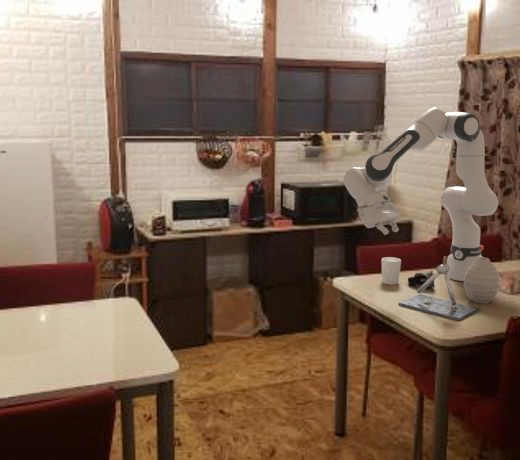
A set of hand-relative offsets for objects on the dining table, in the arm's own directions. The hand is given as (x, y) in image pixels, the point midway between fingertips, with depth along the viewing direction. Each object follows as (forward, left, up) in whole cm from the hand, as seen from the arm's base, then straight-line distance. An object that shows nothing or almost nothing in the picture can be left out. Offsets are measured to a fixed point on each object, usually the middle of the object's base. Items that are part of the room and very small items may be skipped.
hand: (392, 232), depth 229 cm
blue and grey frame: (-1, +20, -25) cm, 33 cm away
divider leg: (0, +13, -21) cm, 24 cm away
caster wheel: (-21, +1, -26) cm, 34 cm away
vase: (-20, +27, -26) cm, 42 cm away
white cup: (-17, -11, -26) cm, 33 cm away
